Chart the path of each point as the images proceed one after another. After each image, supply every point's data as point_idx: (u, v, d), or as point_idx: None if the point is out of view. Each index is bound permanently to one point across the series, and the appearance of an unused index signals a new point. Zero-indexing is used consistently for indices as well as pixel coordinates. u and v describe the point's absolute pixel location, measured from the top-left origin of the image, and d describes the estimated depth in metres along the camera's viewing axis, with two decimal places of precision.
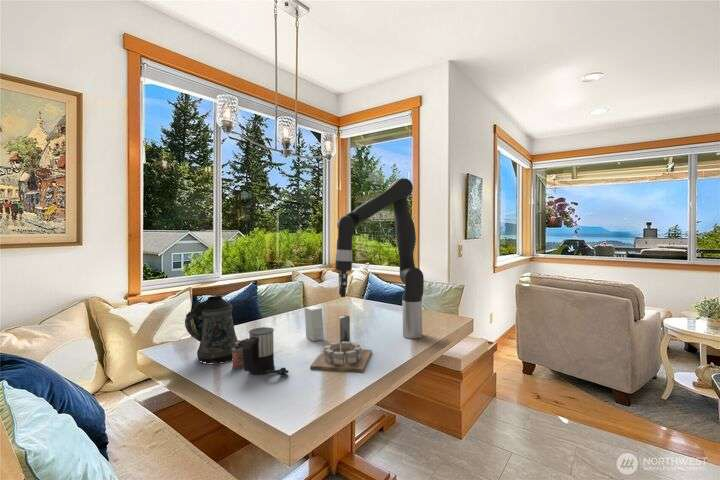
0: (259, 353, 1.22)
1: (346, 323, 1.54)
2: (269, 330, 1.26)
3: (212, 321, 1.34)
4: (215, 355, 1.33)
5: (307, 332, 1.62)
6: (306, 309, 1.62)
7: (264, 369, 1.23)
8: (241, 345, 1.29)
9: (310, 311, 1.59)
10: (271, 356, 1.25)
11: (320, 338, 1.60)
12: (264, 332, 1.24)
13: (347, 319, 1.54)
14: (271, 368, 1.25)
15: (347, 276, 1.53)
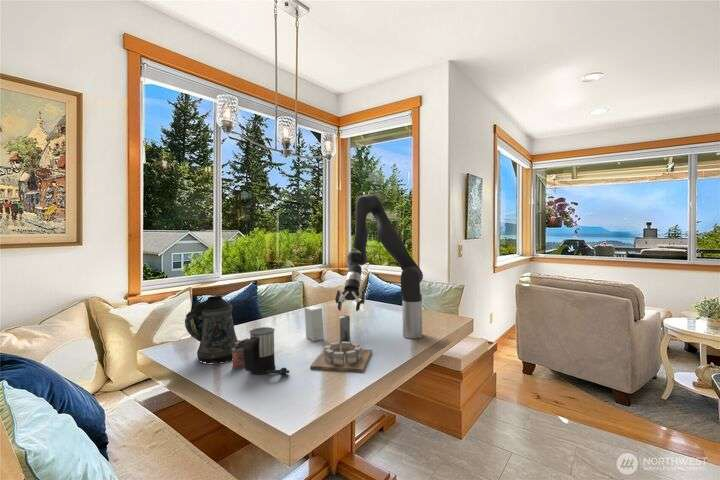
0: (260, 353, 1.22)
1: (346, 323, 1.54)
2: (270, 330, 1.26)
3: (212, 321, 1.34)
4: (215, 355, 1.33)
5: (307, 332, 1.62)
6: (306, 309, 1.62)
7: (265, 369, 1.23)
8: (241, 345, 1.29)
9: (310, 311, 1.59)
10: (272, 356, 1.25)
11: (320, 338, 1.60)
12: (265, 332, 1.24)
13: (347, 319, 1.54)
14: (272, 368, 1.25)
15: (346, 292, 1.68)
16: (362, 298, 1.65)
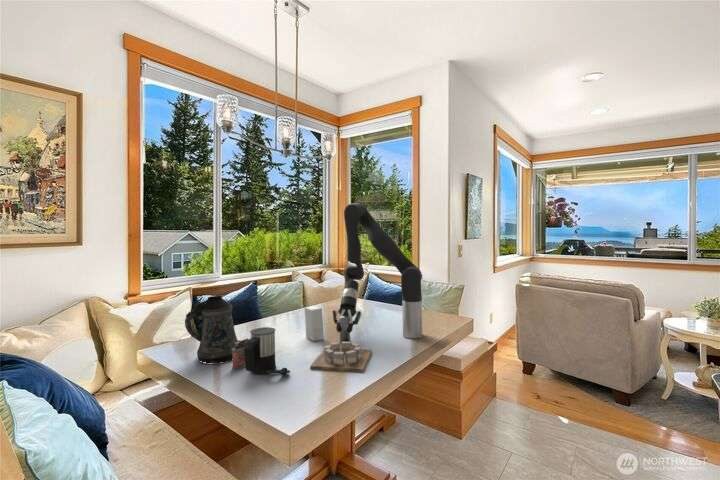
0: (261, 353, 1.22)
1: (346, 323, 1.53)
2: (270, 330, 1.26)
3: (212, 321, 1.34)
4: (215, 355, 1.33)
5: (307, 332, 1.62)
6: (306, 309, 1.62)
7: (265, 369, 1.23)
8: (241, 345, 1.29)
9: (310, 311, 1.59)
10: (272, 356, 1.25)
11: (320, 338, 1.60)
12: (265, 332, 1.24)
13: (347, 319, 1.54)
14: (272, 368, 1.25)
15: (342, 311, 1.59)
16: (356, 319, 1.56)
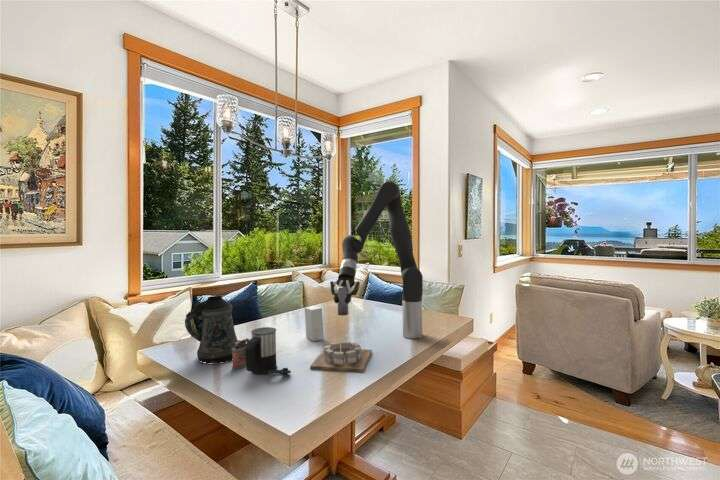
0: (261, 353, 1.22)
1: (344, 294, 1.46)
2: (271, 330, 1.26)
3: (212, 321, 1.34)
4: (215, 355, 1.32)
5: (307, 332, 1.62)
6: (306, 309, 1.62)
7: (266, 369, 1.23)
8: (241, 345, 1.29)
9: (310, 311, 1.59)
10: (273, 356, 1.25)
11: (320, 338, 1.60)
12: (266, 332, 1.24)
13: (345, 289, 1.46)
14: (273, 368, 1.25)
15: (340, 281, 1.51)
16: (354, 289, 1.48)
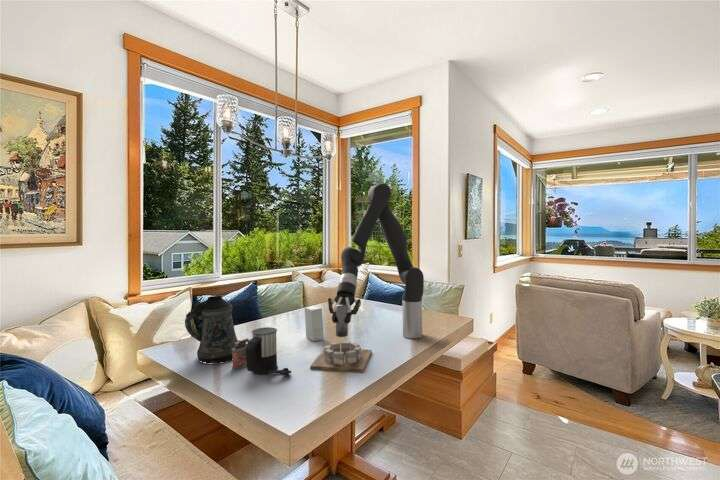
0: (262, 353, 1.22)
1: (344, 313, 1.32)
2: (272, 330, 1.26)
3: (212, 321, 1.34)
4: (215, 355, 1.32)
5: (307, 332, 1.62)
6: (306, 309, 1.62)
7: (267, 369, 1.23)
8: (241, 345, 1.29)
9: (310, 311, 1.59)
10: (274, 356, 1.25)
11: (320, 338, 1.60)
12: (267, 332, 1.24)
13: (344, 308, 1.32)
14: (274, 368, 1.25)
15: (339, 298, 1.38)
16: (355, 308, 1.34)
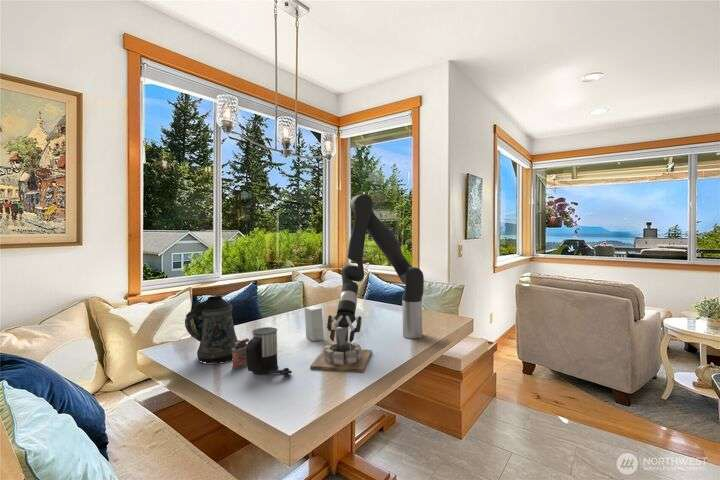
0: (262, 353, 1.22)
1: (344, 335, 1.32)
2: (272, 330, 1.26)
3: (212, 321, 1.34)
4: (215, 355, 1.33)
5: (307, 332, 1.62)
6: (306, 309, 1.62)
7: (267, 369, 1.23)
8: (241, 345, 1.29)
9: (310, 311, 1.59)
10: (274, 356, 1.25)
11: (320, 338, 1.60)
12: (267, 332, 1.24)
13: (345, 330, 1.32)
14: (274, 368, 1.25)
15: (339, 317, 1.38)
16: (357, 325, 1.35)
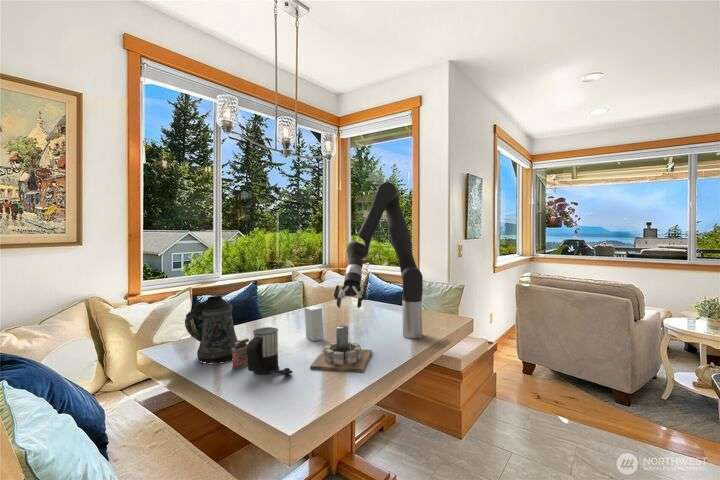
0: (263, 353, 1.22)
1: (344, 335, 1.32)
2: (273, 330, 1.26)
3: (212, 321, 1.34)
4: (215, 355, 1.32)
5: (307, 332, 1.62)
6: (306, 309, 1.62)
7: (268, 369, 1.23)
8: (241, 345, 1.29)
9: (310, 311, 1.59)
10: (275, 356, 1.25)
11: (320, 338, 1.60)
12: (268, 332, 1.24)
13: (345, 330, 1.32)
14: (275, 368, 1.25)
15: (346, 287, 1.50)
16: (364, 293, 1.47)
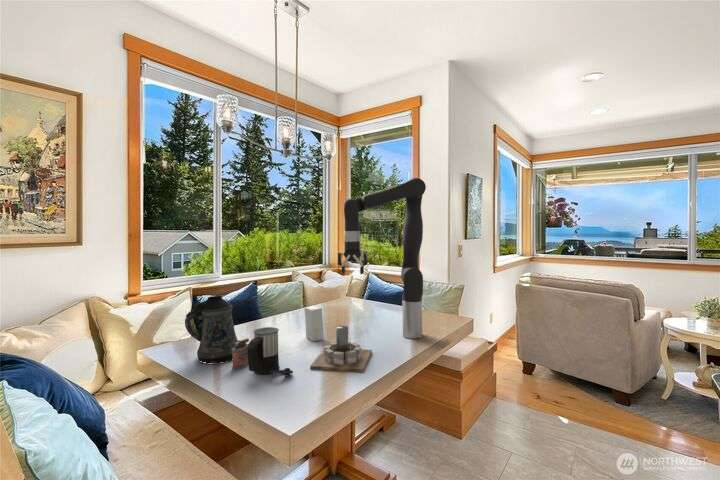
0: (264, 353, 1.22)
1: (344, 335, 1.32)
2: (274, 330, 1.26)
3: (212, 321, 1.34)
4: (215, 355, 1.32)
5: (307, 332, 1.62)
6: (306, 309, 1.62)
7: (269, 369, 1.23)
8: (241, 345, 1.29)
9: (310, 311, 1.59)
10: (276, 356, 1.25)
11: (320, 338, 1.60)
12: (269, 332, 1.24)
13: (345, 330, 1.32)
14: (276, 368, 1.25)
15: (347, 255, 1.63)
16: (365, 262, 1.62)
